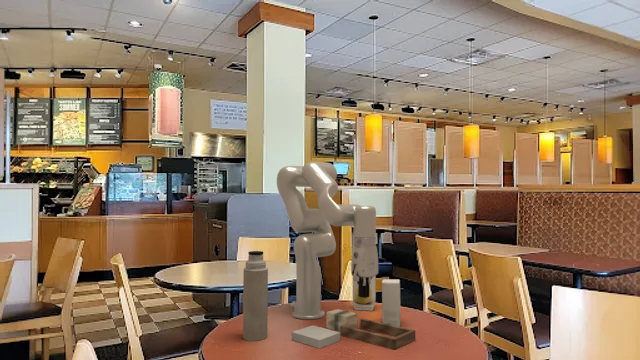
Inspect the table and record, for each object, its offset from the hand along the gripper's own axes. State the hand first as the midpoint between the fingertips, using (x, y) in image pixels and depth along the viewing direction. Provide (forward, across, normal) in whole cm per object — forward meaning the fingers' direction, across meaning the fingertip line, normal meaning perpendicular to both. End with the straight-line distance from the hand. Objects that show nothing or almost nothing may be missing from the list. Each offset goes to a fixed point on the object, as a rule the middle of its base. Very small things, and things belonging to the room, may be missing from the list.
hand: (363, 296), depth 149 cm
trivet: (+13, -16, +7) cm, 21 cm away
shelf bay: (+12, 0, -5) cm, 13 cm away
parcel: (+13, 0, +9) cm, 16 cm away
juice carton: (+13, +27, +20) cm, 36 cm away
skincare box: (+13, +16, 0) cm, 21 cm away
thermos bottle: (+13, -27, +24) cm, 38 cm away
